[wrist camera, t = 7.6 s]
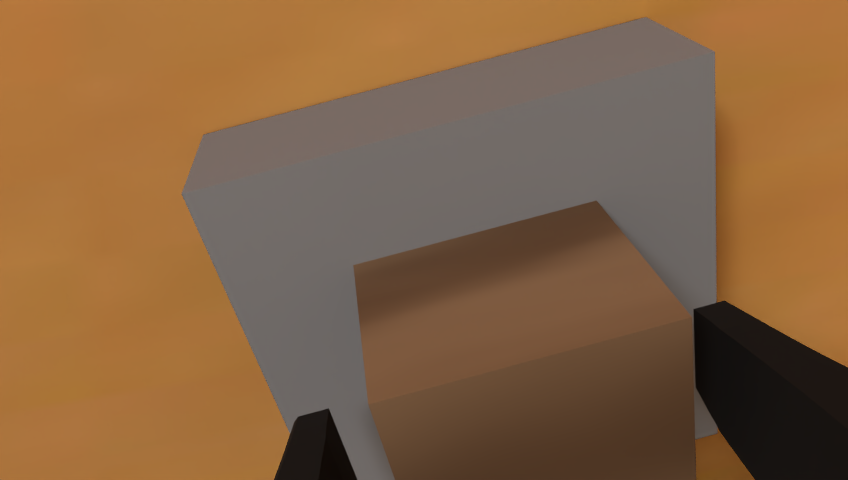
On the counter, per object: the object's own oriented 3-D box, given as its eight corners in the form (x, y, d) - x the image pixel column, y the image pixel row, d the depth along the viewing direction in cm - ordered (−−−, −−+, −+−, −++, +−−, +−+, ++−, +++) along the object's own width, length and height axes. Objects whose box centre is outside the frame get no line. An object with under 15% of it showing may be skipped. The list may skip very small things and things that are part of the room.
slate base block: (333, 449, 20) (337, 537, 18) (203, 134, 15) (181, 193, 13) (665, 358, 20) (717, 433, 18) (646, 17, 15) (715, 51, 13)
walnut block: (353, 265, 14) (368, 404, 10) (596, 200, 14) (691, 316, 10) (409, 439, 16) (437, 599, 13) (615, 384, 16) (697, 527, 13)
